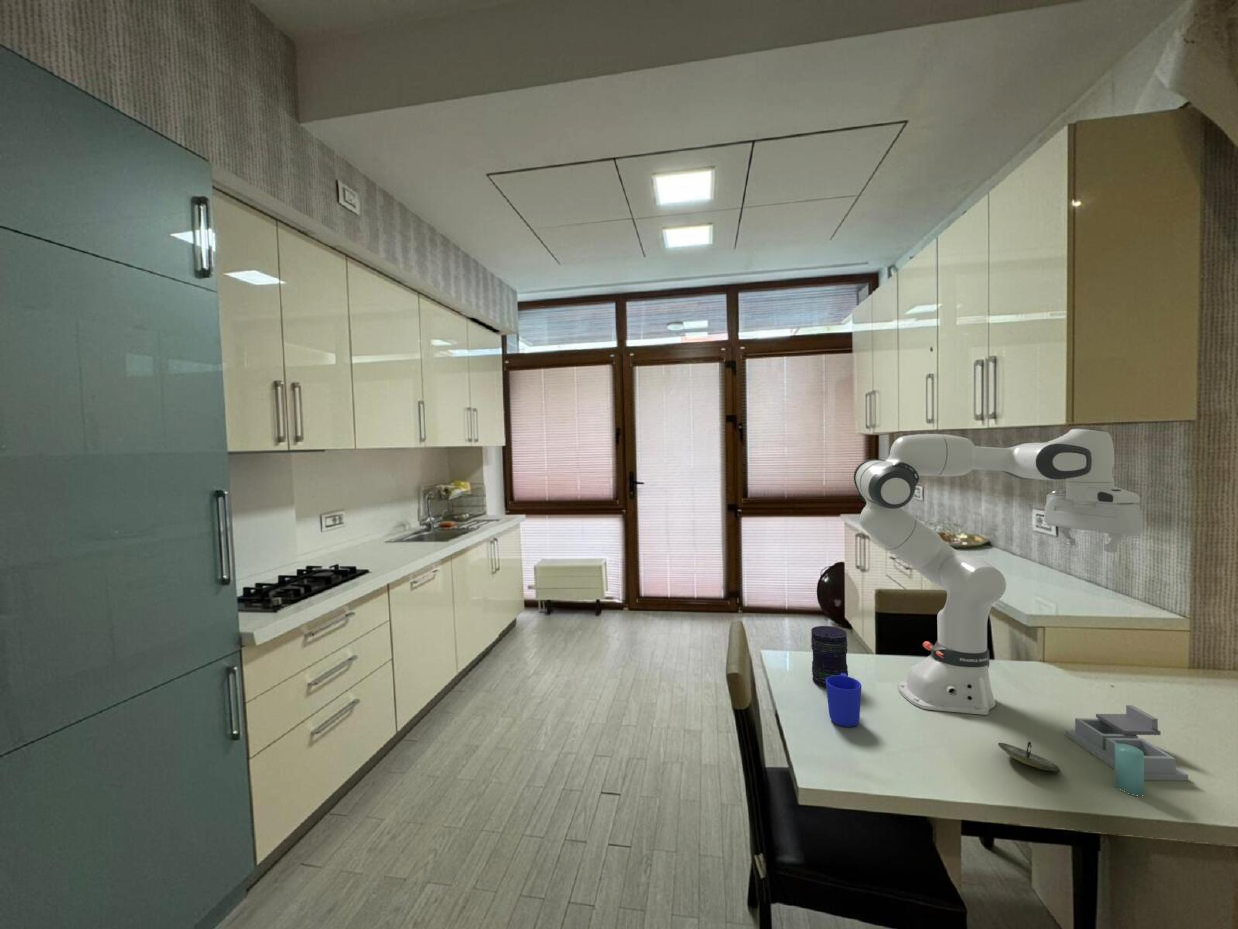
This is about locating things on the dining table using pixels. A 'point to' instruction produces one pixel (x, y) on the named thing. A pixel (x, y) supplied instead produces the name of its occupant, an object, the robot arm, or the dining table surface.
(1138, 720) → the slide lid
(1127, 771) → the jaw peg
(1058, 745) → the dining table surface
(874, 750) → the dining table surface
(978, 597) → the robot arm
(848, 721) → the mug
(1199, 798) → the dining table surface
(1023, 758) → the lid
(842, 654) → the storage jar
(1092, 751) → the housing
